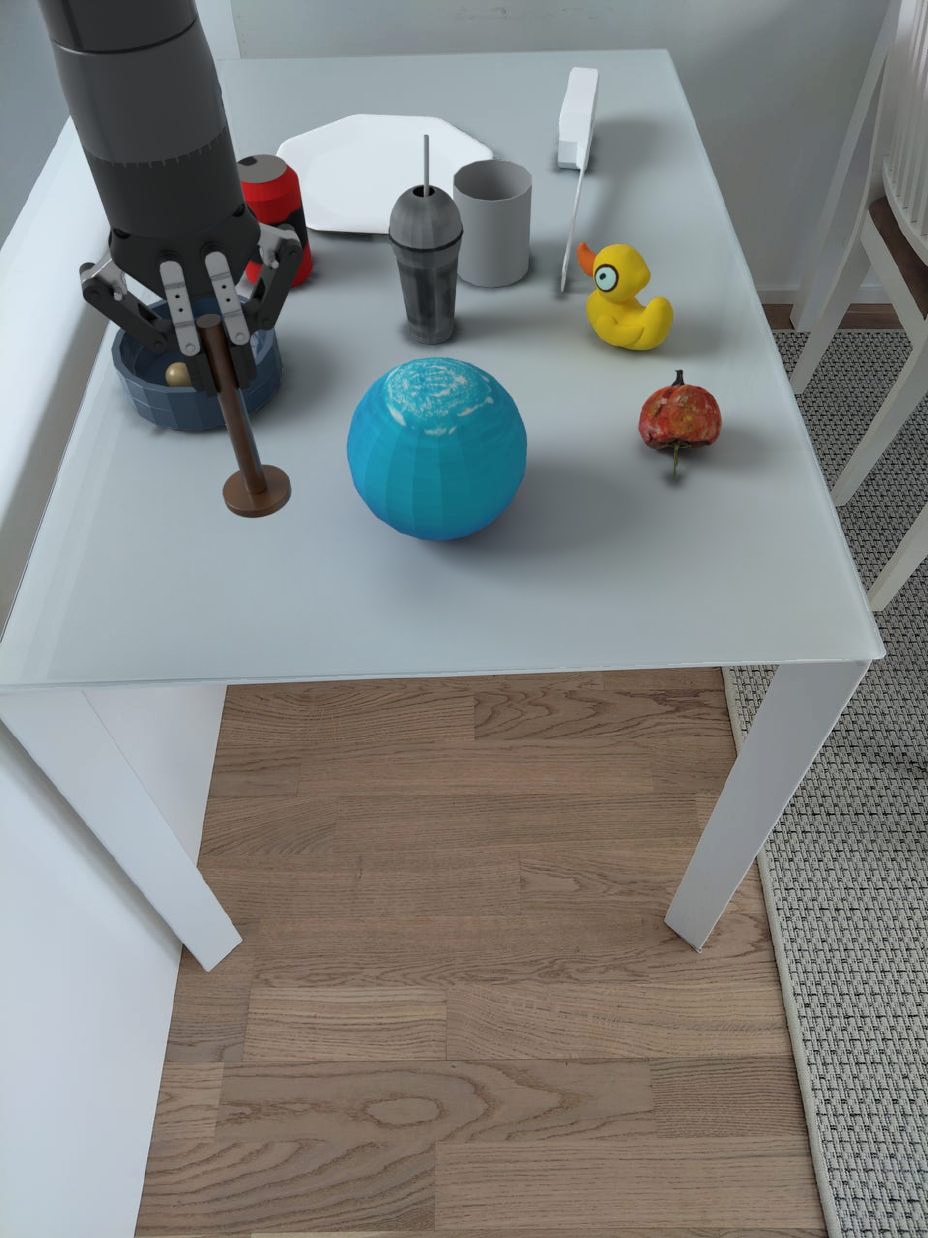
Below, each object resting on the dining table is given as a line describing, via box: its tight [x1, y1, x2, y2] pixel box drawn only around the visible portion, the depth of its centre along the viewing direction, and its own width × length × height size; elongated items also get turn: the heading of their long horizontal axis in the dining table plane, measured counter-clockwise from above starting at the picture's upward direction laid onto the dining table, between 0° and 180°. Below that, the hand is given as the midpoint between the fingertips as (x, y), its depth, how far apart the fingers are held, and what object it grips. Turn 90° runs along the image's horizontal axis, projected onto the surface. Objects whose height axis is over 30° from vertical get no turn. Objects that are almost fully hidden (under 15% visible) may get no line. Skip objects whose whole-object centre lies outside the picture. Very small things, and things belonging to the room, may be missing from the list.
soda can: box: [236, 154, 314, 290], centre depth 99 cm, size 8×8×12 cm
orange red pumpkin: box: [637, 368, 723, 481], centre depth 84 cm, size 7×7×10 cm
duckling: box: [576, 241, 674, 351], centre depth 92 cm, size 11×5×10 cm, turn 51°
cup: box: [453, 158, 533, 289], centre depth 100 cm, size 8×8×10 cm
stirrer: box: [196, 314, 293, 519], centre depth 63 cm, size 5×5×15 cm
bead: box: [166, 362, 192, 387], centre depth 91 cm, size 3×3×3 cm
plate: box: [275, 113, 494, 237], centre depth 115 cm, size 28×28×2 cm
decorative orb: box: [346, 356, 528, 541], centre depth 76 cm, size 15×15×15 cm
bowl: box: [110, 293, 284, 431], centre depth 91 cm, size 16×16×5 cm
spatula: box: [557, 66, 601, 293], centre depth 110 cm, size 38×8×4 cm
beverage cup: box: [388, 135, 464, 345], centre depth 90 cm, size 7×7×20 cm
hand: (227, 385), depth 61 cm, fingers closed on stirrer
